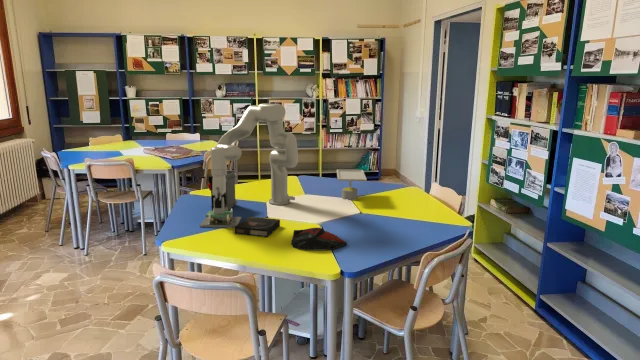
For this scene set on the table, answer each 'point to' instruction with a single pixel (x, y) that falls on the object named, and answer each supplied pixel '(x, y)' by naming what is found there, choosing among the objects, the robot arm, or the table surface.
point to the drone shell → (315, 239)
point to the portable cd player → (257, 226)
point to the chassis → (221, 221)
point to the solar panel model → (350, 176)
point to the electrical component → (229, 190)
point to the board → (219, 210)
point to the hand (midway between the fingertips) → (220, 205)
